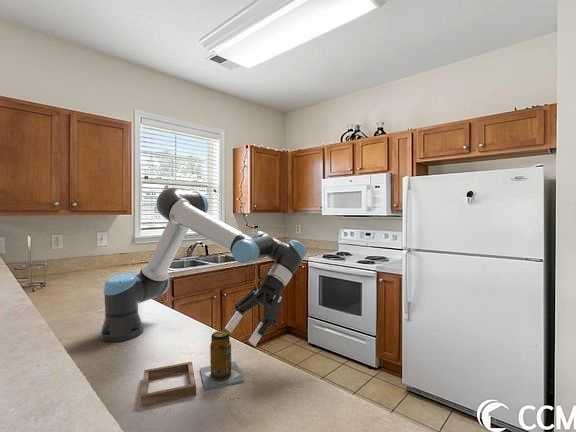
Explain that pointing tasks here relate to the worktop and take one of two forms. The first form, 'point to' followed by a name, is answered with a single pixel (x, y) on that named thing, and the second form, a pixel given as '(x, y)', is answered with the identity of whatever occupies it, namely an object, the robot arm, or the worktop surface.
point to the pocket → (168, 393)
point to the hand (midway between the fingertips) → (239, 336)
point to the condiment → (221, 358)
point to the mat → (213, 384)
